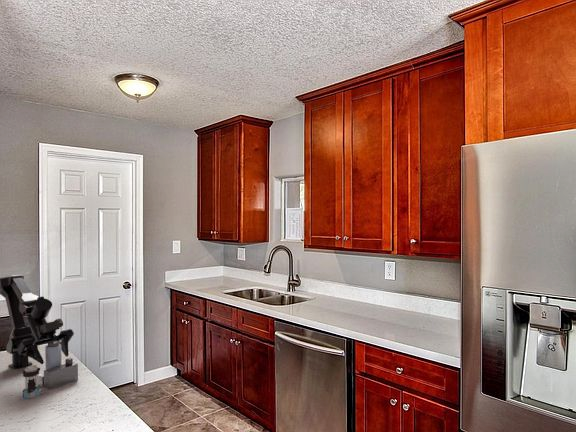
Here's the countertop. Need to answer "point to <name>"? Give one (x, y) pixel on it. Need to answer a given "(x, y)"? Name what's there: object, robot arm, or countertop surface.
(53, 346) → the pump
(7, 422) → the countertop surface
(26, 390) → the push button
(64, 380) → the motor block
